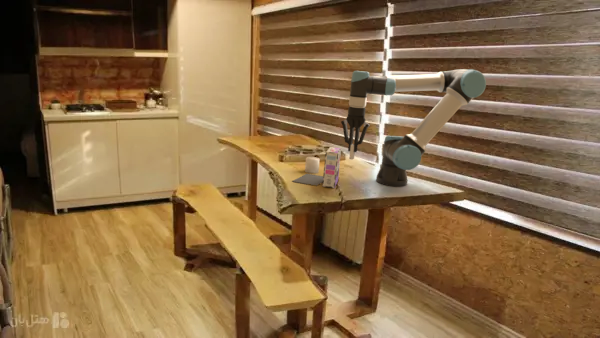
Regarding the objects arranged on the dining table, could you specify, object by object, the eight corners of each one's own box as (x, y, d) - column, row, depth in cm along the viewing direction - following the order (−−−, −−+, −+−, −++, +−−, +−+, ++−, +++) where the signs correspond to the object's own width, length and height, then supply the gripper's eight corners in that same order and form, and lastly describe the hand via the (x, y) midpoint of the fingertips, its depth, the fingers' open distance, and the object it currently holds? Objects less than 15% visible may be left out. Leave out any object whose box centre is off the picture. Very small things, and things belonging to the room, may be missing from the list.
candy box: (334, 188, 209) (338, 152, 205) (321, 186, 210) (325, 151, 206) (338, 181, 222) (341, 147, 218) (326, 179, 223) (329, 146, 219)
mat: (329, 178, 227) (329, 177, 226) (316, 186, 210) (316, 185, 210) (306, 174, 231) (306, 173, 231) (292, 181, 215) (292, 181, 214)
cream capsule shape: (320, 171, 239) (321, 158, 237) (315, 174, 233) (316, 160, 231) (307, 169, 242) (309, 156, 240) (302, 171, 235) (303, 158, 234)
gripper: (373, 107, 205) (367, 159, 211) (345, 104, 210) (340, 155, 216) (369, 108, 199) (363, 162, 204) (340, 105, 203) (335, 158, 209)
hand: (351, 158), depth 210 cm, fingers closed
